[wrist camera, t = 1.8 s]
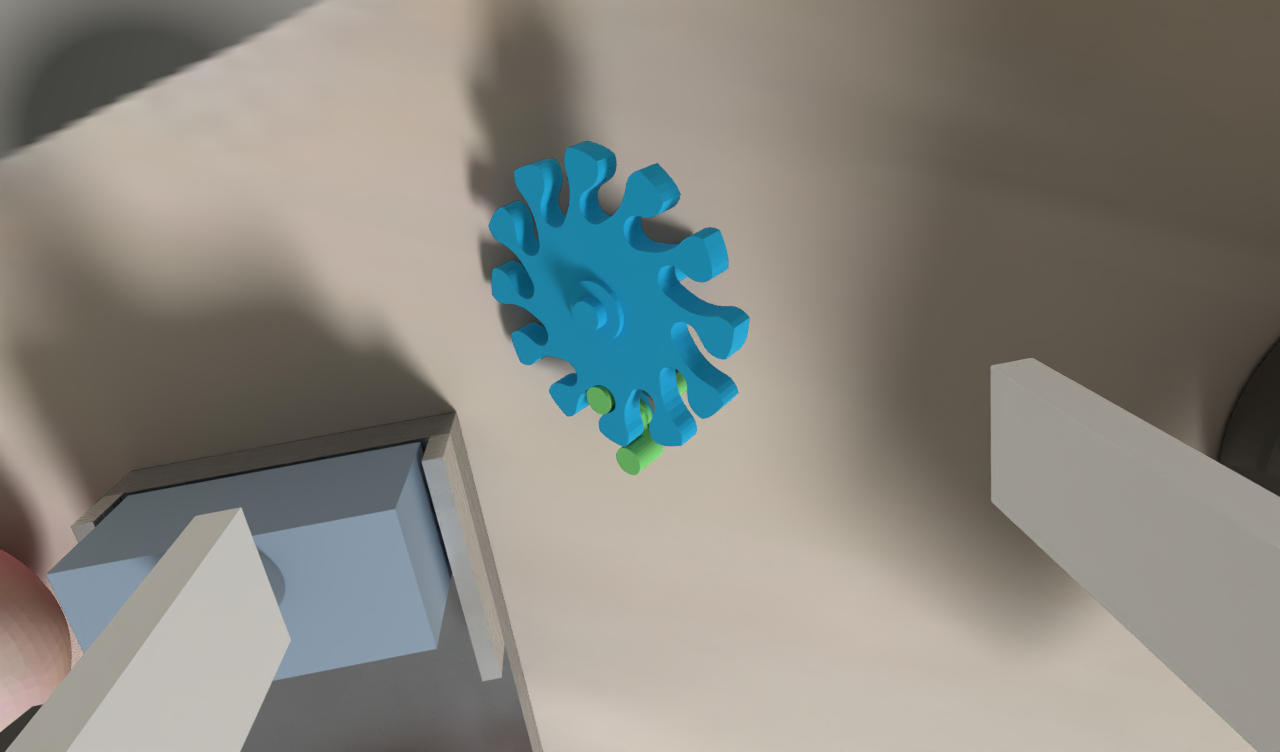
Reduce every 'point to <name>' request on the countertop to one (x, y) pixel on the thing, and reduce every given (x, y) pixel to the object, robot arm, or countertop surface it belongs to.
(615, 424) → the gear
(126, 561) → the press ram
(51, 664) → the decorative fruit
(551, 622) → the countertop surface
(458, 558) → the frame
